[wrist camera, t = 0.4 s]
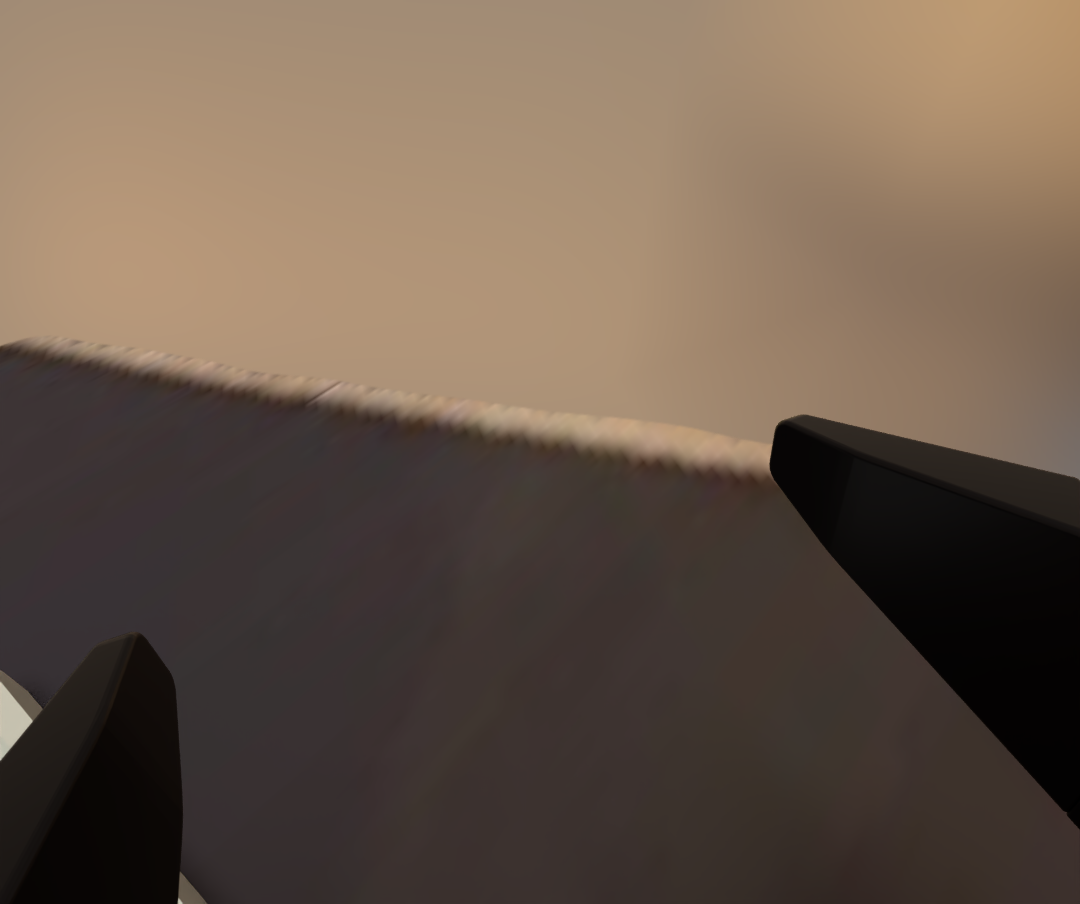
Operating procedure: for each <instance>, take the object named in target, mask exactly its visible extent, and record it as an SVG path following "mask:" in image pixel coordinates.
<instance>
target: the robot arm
mask: <svg viewBox="0 0 1080 904" xmlns="http://www.w3.org/2000/svg"><path fill="white" fill-rule="evenodd" d="M770 471H771V474H772V476H773V478H774V480H775V482H776V483H777V484H778V486H779V487H780V488H781V490H782V491H783V492H784V494H785V495H786V496H787V498H788V499H789V500H790V502H791V503H792V504H793V506H794V507H795V508H796V510H797V511H798V512H799V514H800V515H801V517H802V518H803V519H804V521H805V522H806V523H807V525H808V526H809V527H810V529H811V530H812V531H813V533H814V534H815V535H816V537H817V538H818V539H819V541H820V542H821V543H822V545H823V546H824V547H825V548H826V550H827V551H828V552H829V553H830V555H831V556H832V557H833V558H834V559H835V560H836V562H837V563H838V564H839V565H840V566H841V567H842V568H843V569H844V570H845V572H846V573H847V574H848V575H849V576H850V577H851V578H852V579H853V580H854V581H855V583H856V584H857V585H858V586H859V587H860V588H861V589H862V590H863V591H864V592H865V594H866V595H867V596H868V597H869V598H870V599H871V600H872V601H873V602H874V603H875V605H876V606H877V607H878V608H879V609H880V610H881V611H882V612H883V613H884V614H885V616H886V617H887V618H888V619H889V620H890V621H891V622H892V623H893V624H894V625H895V627H896V628H897V629H898V630H899V631H900V632H901V633H902V634H903V635H904V636H905V637H906V639H907V640H908V641H909V642H910V643H911V644H912V645H913V646H914V647H915V648H916V650H917V651H918V652H919V653H920V654H921V655H922V656H923V657H924V658H925V659H926V661H927V662H928V663H929V664H930V665H931V666H932V667H933V668H934V669H935V670H936V672H937V673H938V674H939V675H940V676H941V677H942V678H943V679H944V680H945V681H946V683H947V684H948V685H949V686H950V687H951V688H952V689H953V690H954V691H955V692H956V694H957V695H958V696H959V697H960V698H961V699H962V700H963V701H964V702H965V703H966V705H967V706H968V707H969V708H970V709H971V710H972V711H973V712H974V713H975V714H976V716H977V717H978V718H979V719H980V720H981V721H982V722H983V723H984V724H985V725H986V727H987V728H988V729H989V730H990V731H991V732H992V733H993V734H994V735H995V736H996V737H997V739H998V740H999V741H1000V742H1001V743H1002V744H1003V745H1004V746H1005V747H1006V748H1007V750H1008V751H1009V752H1010V753H1011V754H1012V755H1013V756H1014V757H1015V758H1016V759H1017V761H1018V762H1019V763H1020V764H1021V765H1022V766H1023V767H1024V768H1025V769H1026V770H1027V772H1028V773H1029V774H1030V775H1031V776H1032V777H1033V778H1034V779H1035V780H1036V781H1037V783H1038V784H1039V785H1040V786H1041V787H1042V788H1043V789H1044V790H1045V791H1046V792H1047V794H1048V795H1049V796H1050V797H1051V798H1052V799H1053V800H1054V801H1055V802H1056V803H1057V805H1058V806H1059V807H1060V808H1061V809H1062V810H1063V811H1065V812H1067V816H1068V817H1069V818H1070V819H1071V821H1072V822H1073V823H1074V824H1075V825H1076V826H1077V827H1078V828H1079V829H1080V480H1079V479H1077V478H1075V477H1070V476H1066V475H1061V474H1057V473H1053V472H1048V471H1045V470H1040V469H1036V468H1032V467H1028V466H1023V465H1019V464H1015V463H1010V462H1006V461H1002V460H997V459H993V458H989V457H985V456H981V455H976V454H972V453H968V452H963V451H959V450H955V449H951V448H946V447H942V446H938V445H934V444H929V443H925V442H921V441H916V440H912V439H908V438H904V437H899V436H895V435H891V434H886V433H882V432H878V431H874V430H870V429H865V428H861V427H857V426H852V425H848V424H844V423H840V422H835V421H831V420H827V419H823V418H818V417H814V416H809V415H798V416H794V417H791V418H788V419H785V420H783V421H781V422H779V423H778V425H777V426H776V429H775V433H774V439H773V445H772V451H771V457H770ZM182 828H183V799H182V780H181V765H180V749H179V733H178V718H177V702H176V689H175V684H174V680H173V677H172V675H171V673H170V671H169V670H168V668H167V667H166V666H165V664H164V663H163V661H162V660H161V659H160V657H159V656H158V654H157V653H156V652H155V650H154V649H153V647H152V646H151V645H150V643H149V642H148V640H147V639H146V638H145V637H144V636H143V635H142V634H140V633H138V632H130V633H127V634H123V635H120V636H117V637H114V638H111V639H108V640H105V641H102V642H100V643H98V644H97V645H96V646H95V647H94V648H93V649H92V650H91V651H90V652H89V653H88V655H87V656H86V657H85V658H84V659H83V661H82V662H81V663H80V664H79V666H78V667H77V668H76V669H75V670H74V672H73V673H72V674H71V675H70V677H69V678H68V679H67V680H66V681H65V683H64V684H63V685H62V686H61V687H60V689H59V690H58V691H57V692H56V694H55V695H54V696H53V697H52V698H51V700H50V701H49V702H48V703H47V704H46V706H45V707H44V708H43V709H42V711H41V712H40V713H39V714H38V715H37V717H36V718H35V719H34V720H33V722H32V723H31V724H30V725H29V726H28V728H27V729H26V730H25V731H24V733H23V734H22V735H21V736H20V737H19V739H18V740H17V741H16V742H15V743H14V745H13V746H12V747H11V748H10V750H9V751H8V752H7V753H6V754H5V756H4V757H3V758H2V759H1V761H0V904H178V896H179V880H180V864H181V847H182Z"/></svg>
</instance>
